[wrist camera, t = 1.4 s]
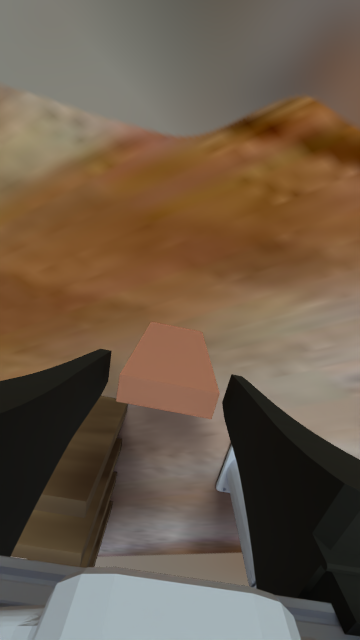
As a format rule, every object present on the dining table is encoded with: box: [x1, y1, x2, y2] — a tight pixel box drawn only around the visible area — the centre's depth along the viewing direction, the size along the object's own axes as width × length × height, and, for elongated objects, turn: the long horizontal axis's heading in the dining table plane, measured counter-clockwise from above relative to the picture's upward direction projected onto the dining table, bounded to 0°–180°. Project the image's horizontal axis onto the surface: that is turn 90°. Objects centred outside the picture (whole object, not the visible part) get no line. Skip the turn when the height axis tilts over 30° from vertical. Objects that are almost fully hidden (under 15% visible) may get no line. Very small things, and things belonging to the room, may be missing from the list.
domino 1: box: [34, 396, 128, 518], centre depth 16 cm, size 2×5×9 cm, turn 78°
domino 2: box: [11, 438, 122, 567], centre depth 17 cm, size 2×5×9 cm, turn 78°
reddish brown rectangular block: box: [116, 322, 220, 419], centre depth 14 cm, size 2×5×9 cm, turn 78°
